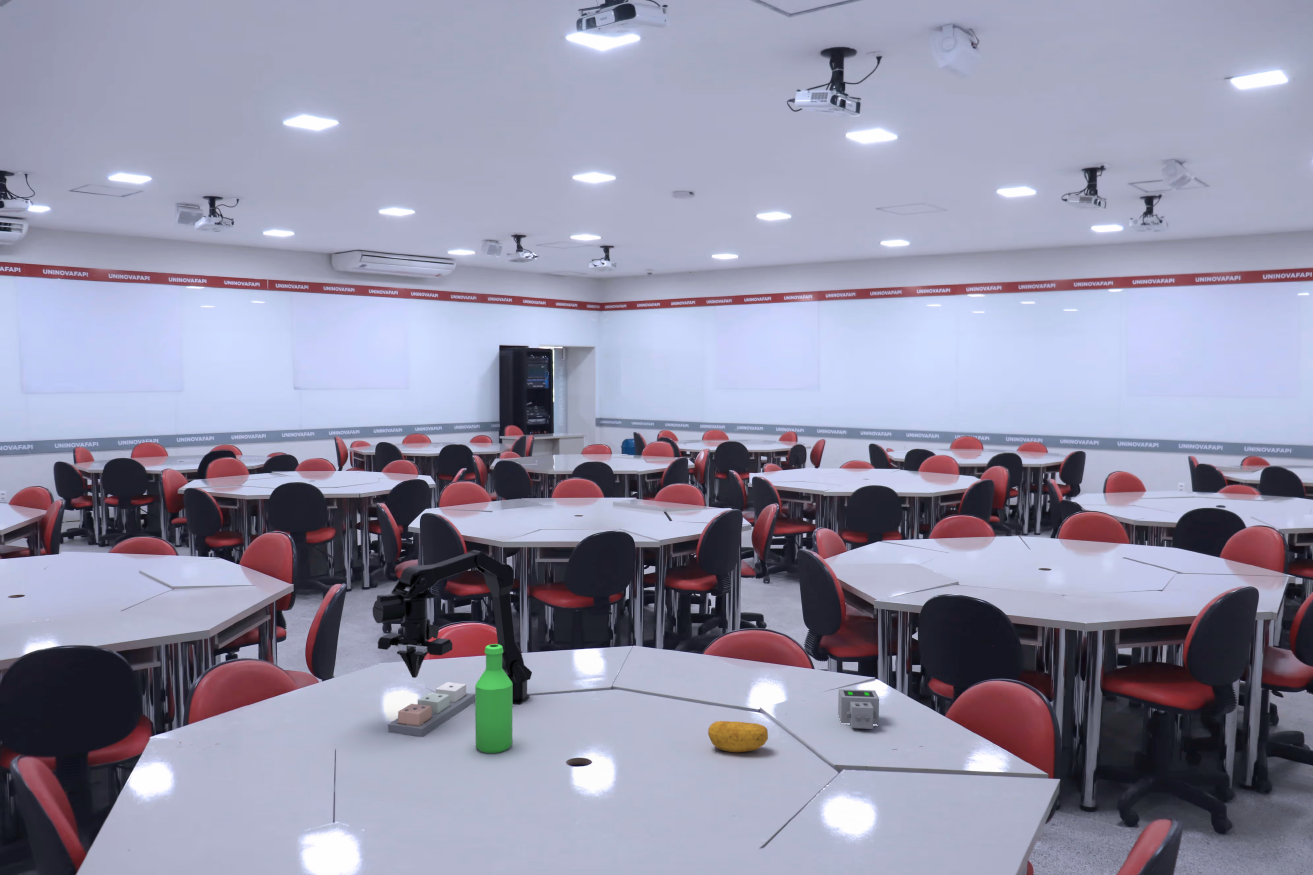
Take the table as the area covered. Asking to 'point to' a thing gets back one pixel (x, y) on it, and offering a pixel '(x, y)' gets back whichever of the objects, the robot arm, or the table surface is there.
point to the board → (435, 720)
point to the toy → (858, 708)
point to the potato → (737, 736)
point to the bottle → (493, 704)
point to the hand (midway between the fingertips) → (414, 677)
